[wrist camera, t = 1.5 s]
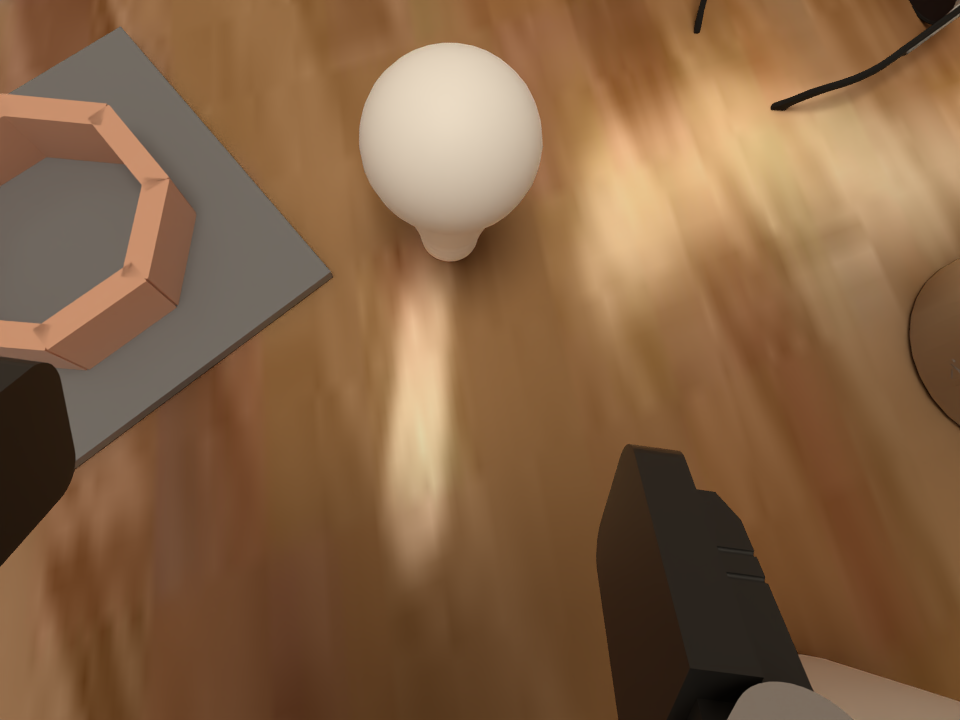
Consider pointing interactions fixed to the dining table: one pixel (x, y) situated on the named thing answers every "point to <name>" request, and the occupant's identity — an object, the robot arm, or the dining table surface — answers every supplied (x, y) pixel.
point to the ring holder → (131, 240)
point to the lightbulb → (450, 143)
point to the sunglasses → (934, 5)
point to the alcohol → (875, 694)
